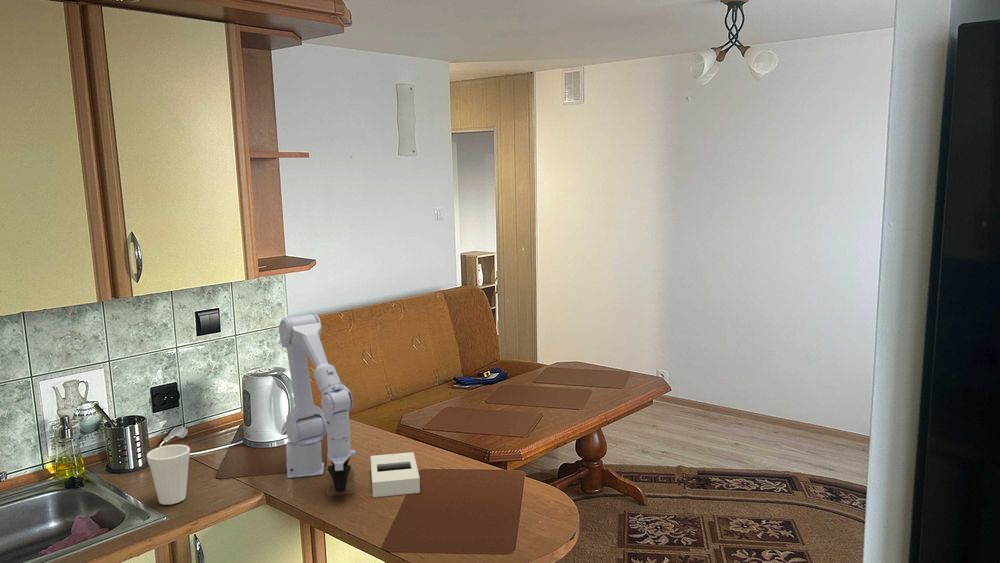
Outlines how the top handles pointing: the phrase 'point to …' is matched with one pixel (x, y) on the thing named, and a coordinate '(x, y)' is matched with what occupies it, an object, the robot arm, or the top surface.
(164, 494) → the cup
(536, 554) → the top surface
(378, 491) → the slotted box
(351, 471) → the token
